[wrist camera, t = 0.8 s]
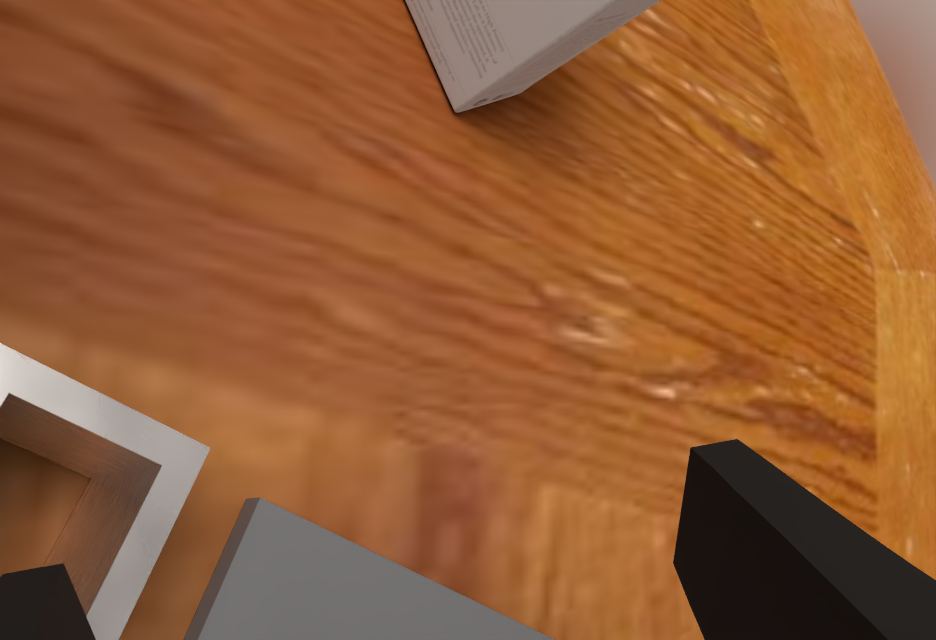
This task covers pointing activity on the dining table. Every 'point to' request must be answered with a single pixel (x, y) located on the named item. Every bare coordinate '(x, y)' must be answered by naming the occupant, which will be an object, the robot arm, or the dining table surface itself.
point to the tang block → (329, 590)
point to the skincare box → (510, 40)
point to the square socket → (101, 481)
